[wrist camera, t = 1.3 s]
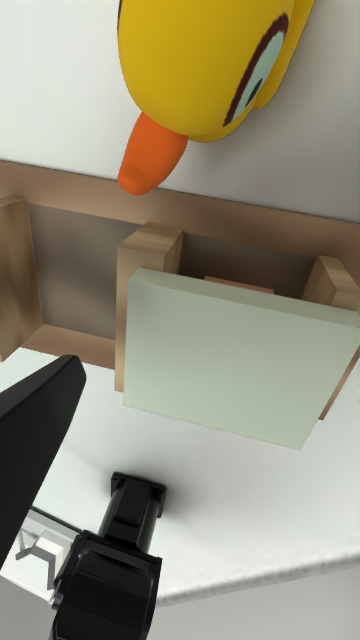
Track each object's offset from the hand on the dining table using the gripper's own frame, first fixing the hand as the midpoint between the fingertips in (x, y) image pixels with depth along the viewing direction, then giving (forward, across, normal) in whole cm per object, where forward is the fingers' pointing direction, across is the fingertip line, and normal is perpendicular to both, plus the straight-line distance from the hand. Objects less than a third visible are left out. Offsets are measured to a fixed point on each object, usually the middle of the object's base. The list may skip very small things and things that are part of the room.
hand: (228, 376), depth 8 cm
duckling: (+14, +1, -8) cm, 16 cm away
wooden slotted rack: (+12, +6, +5) cm, 15 cm away
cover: (+7, +1, +5) cm, 9 cm away
